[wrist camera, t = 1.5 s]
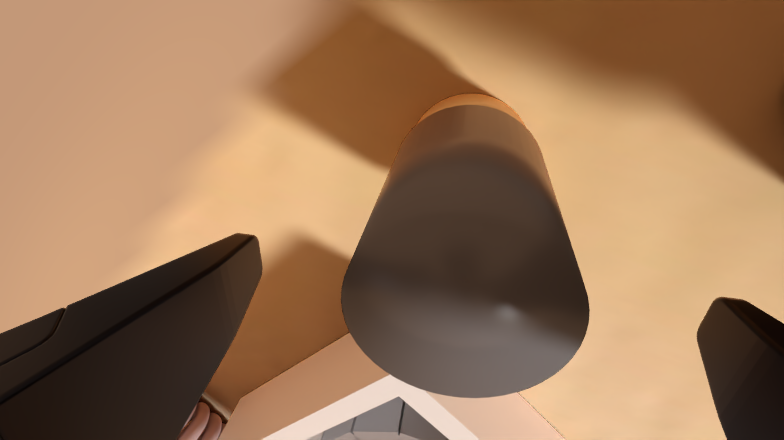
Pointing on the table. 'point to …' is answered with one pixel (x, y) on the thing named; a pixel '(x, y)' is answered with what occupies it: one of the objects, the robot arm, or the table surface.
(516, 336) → the plug
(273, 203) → the table surface
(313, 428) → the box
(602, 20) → the table surface
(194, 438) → the coil
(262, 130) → the table surface
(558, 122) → the table surface
